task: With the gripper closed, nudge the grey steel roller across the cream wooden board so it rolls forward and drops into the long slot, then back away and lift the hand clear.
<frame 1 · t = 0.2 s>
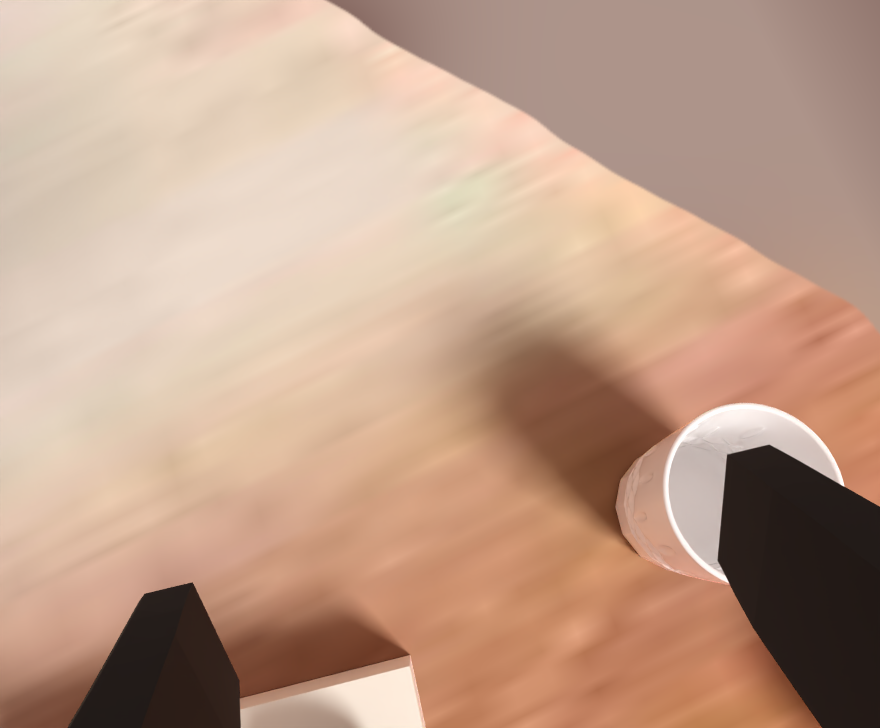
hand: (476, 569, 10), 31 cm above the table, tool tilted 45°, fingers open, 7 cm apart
white cup: (673, 508, 41), on the table
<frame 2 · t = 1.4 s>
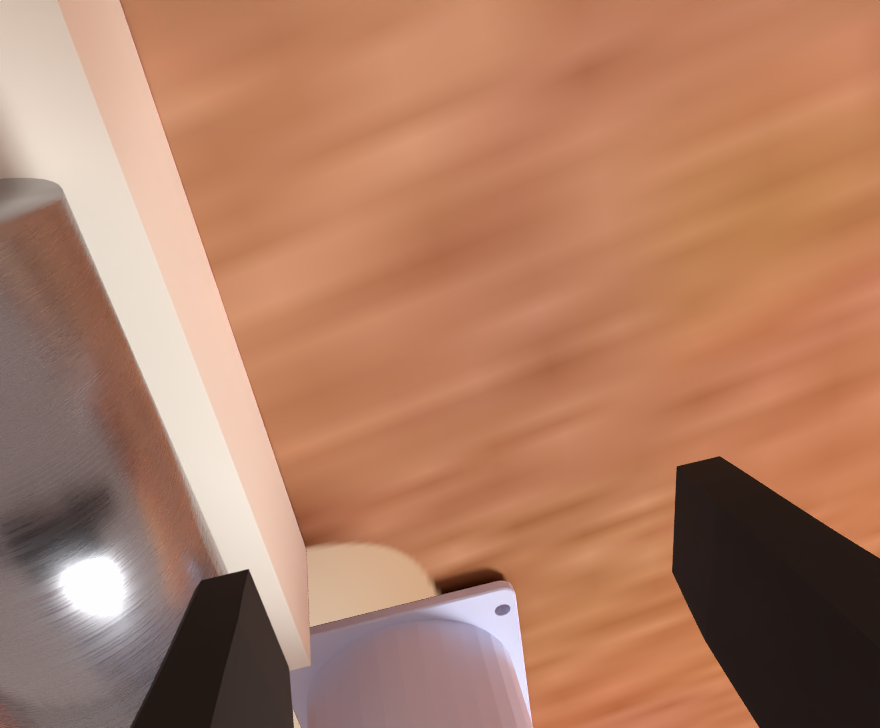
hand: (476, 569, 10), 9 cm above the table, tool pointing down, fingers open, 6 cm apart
roller: (46, 521, 12), point 6 cm above the table, tilted 49°, touching slot board
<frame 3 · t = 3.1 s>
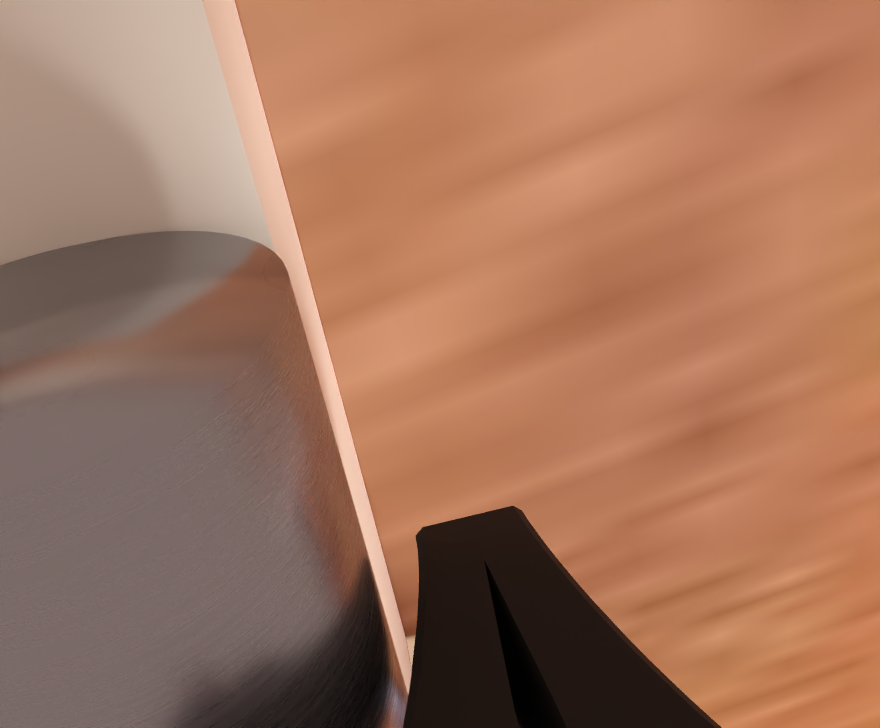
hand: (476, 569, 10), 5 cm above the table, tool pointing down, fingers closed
roller: (211, 690, 9), point 6 cm above the table, tilted 66°, touching slot board
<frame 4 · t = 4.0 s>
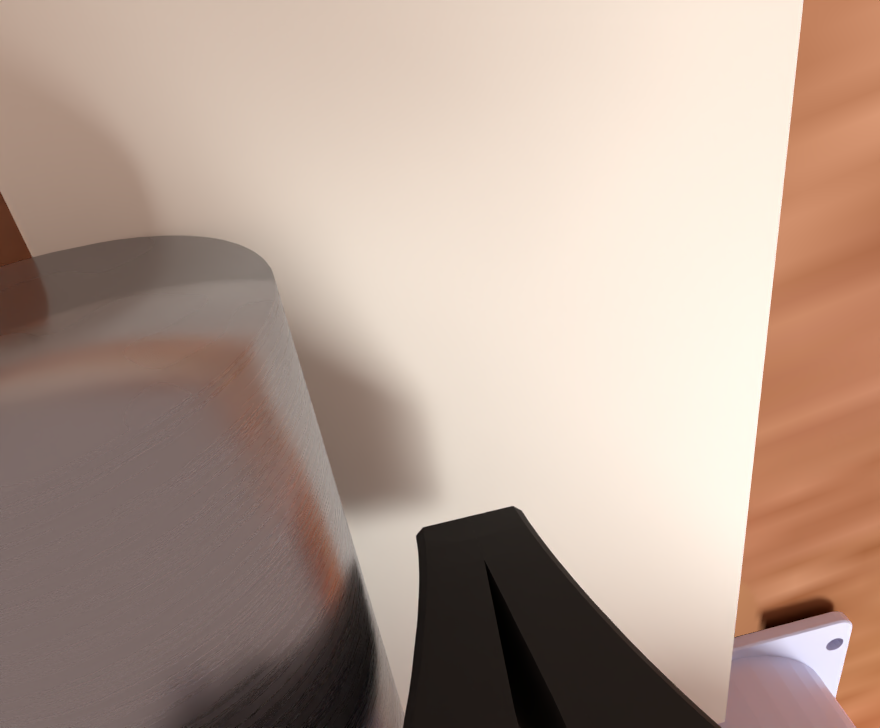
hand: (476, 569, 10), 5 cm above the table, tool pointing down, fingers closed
slot board: (207, 414, 14), on the table
roller: (202, 692, 9), point 6 cm above the table, tilted 101°, touching slot board
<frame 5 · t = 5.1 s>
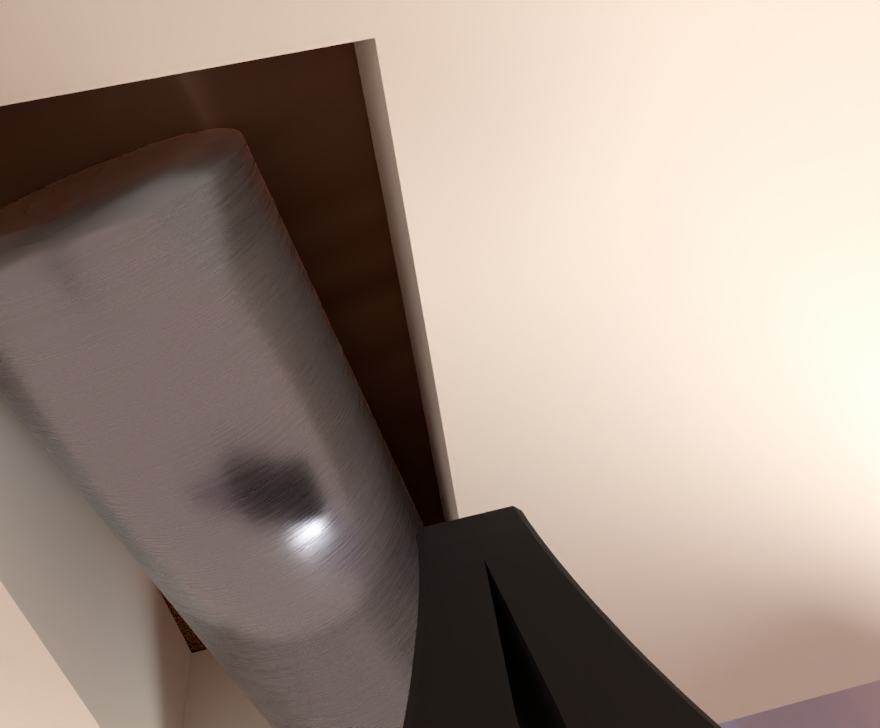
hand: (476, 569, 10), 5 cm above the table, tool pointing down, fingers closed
slot board: (415, 366, 14), on the table
roller: (250, 467, 12), point 2 cm above the table, tilted 27°
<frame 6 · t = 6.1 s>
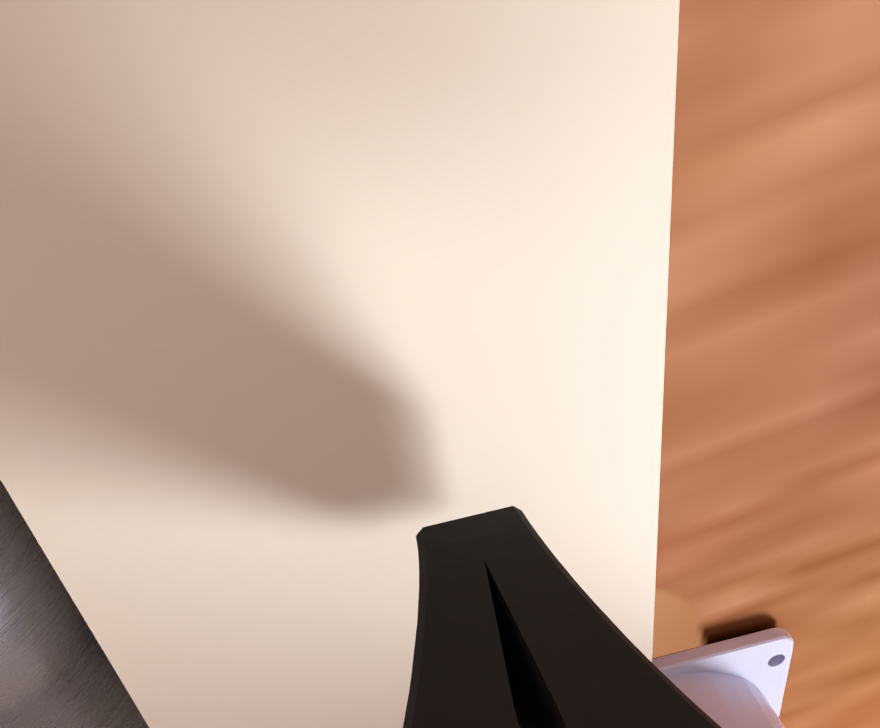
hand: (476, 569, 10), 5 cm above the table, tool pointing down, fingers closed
slot board: (118, 426, 14), on the table
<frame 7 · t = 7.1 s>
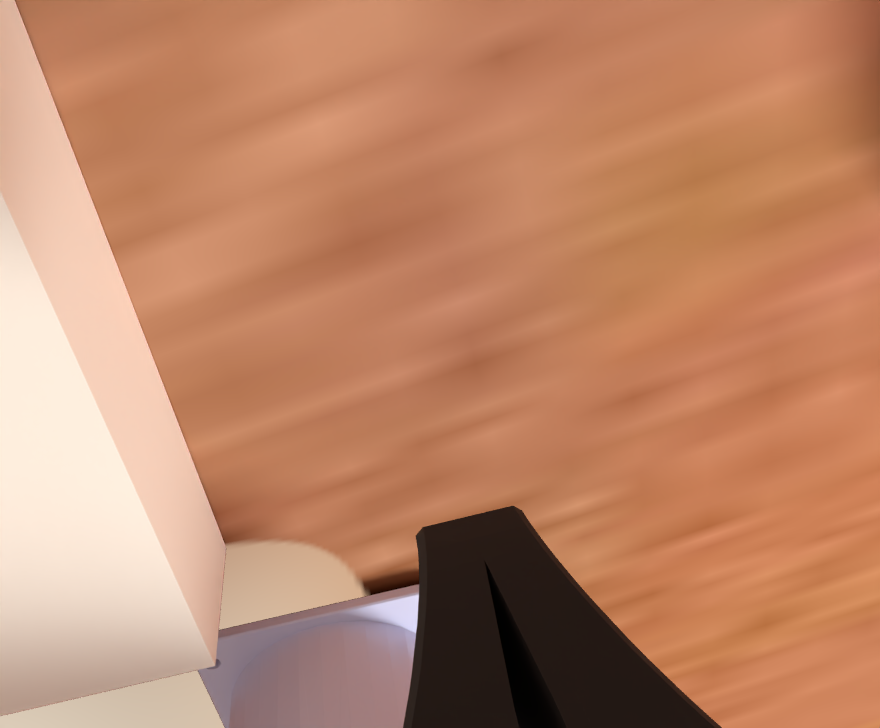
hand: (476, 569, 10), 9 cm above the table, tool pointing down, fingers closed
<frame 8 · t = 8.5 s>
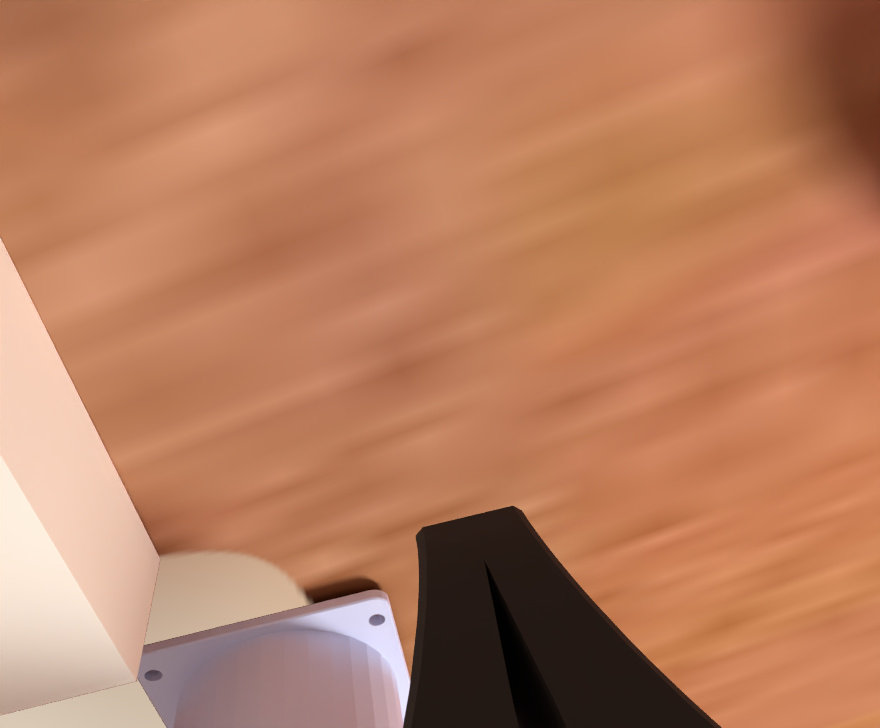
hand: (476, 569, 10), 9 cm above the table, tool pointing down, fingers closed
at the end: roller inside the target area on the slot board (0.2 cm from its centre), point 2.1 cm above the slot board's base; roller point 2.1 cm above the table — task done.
